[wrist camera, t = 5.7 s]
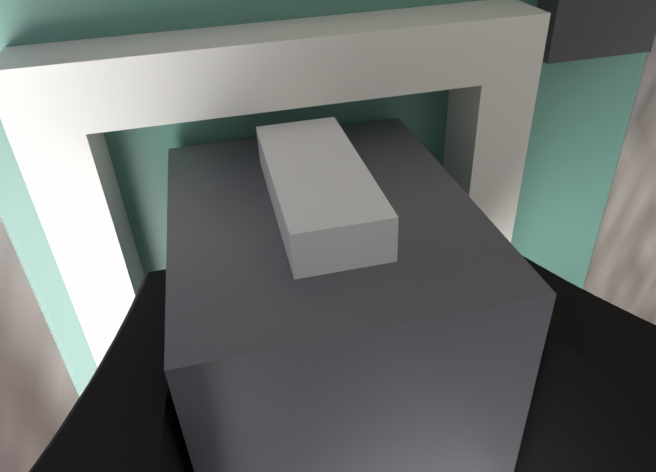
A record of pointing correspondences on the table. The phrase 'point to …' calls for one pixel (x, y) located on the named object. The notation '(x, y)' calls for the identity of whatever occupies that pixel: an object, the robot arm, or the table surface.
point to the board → (297, 105)
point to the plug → (343, 307)
